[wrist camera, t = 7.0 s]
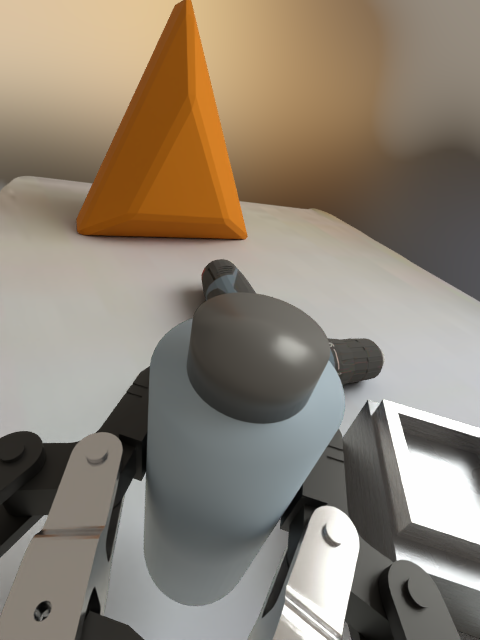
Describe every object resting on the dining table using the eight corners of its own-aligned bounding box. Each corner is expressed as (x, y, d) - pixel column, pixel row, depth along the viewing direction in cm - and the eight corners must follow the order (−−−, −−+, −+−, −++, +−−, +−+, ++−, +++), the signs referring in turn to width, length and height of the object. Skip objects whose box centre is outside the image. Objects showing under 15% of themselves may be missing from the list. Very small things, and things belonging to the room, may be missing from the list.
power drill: (297, 292, 46) (386, 395, 31) (173, 292, 39) (211, 425, 24) (308, 260, 43) (413, 357, 28) (175, 254, 36) (222, 379, 21)
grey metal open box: (353, 594, 17) (414, 550, 13) (341, 439, 25) (377, 385, 21) (559, 666, 16) (688, 642, 12) (477, 482, 24) (538, 433, 20)
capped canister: (120, 581, 11) (99, 369, 5) (171, 466, 15) (196, 261, 9) (239, 625, 11) (387, 461, 4) (260, 496, 15) (356, 306, 8)
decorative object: (78, 248, 43) (40, -74, 26) (76, 212, 54) (47, -32, 37) (258, 250, 56) (309, 35, 39) (227, 220, 67) (257, 42, 50)
